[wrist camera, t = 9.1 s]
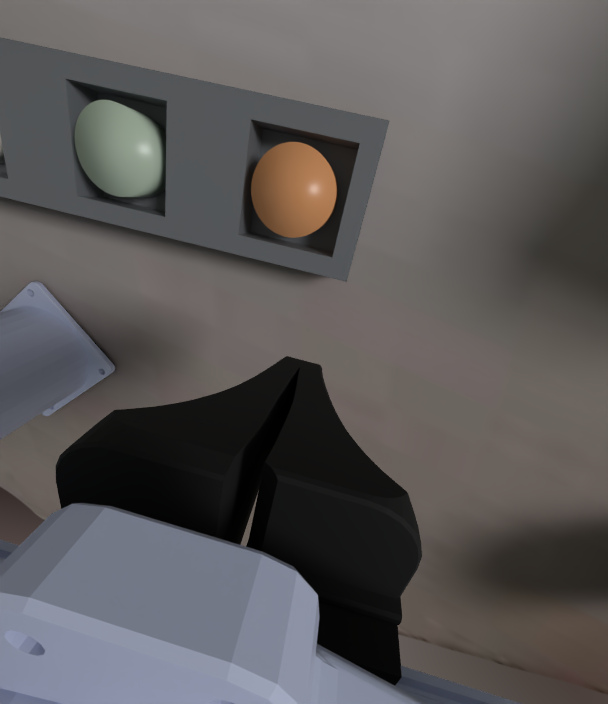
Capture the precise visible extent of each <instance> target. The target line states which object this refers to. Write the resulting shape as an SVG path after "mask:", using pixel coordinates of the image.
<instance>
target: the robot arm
mask: <svg viewBox="0 0 608 704" xmlns="http://www.w3.org/2000/svg"><path fill="white" fill-rule="evenodd" d="M32 291H33V292H32ZM103 370H104V371H105V372H104V371H103ZM114 371H115V366H114V364H113V363H112V362H111V361H110V360H109V359H108V358H107V356H106V355H105V354H104V353H103V352H102V351H101V350H100V349H99V347H98V346H97V345H96V344H95V343H94V342H93V341H92V339H91V338H90V337H89V336H88V335H87V334H86V333H85V332H84V330H83V329H82V328H81V327H80V326H79V325H78V324H77V323H76V321H75V320H74V319H73V318H72V317H71V316H70V315H69V314H68V312H67V311H66V310H65V309H64V308H63V307H62V306H61V305H60V303H59V302H58V301H57V300H56V299H55V298H54V297H53V295H52V294H51V293H50V292H49V291H48V290H47V289H46V288H45V286H44V285H43V284H42V283H40V282H38V281H34V282H30V283H29V284H28V285H27V286H26V287H25V288H24V289H23V290H22V291H21V292H20V293H19V294H18V295H17V296H16V297H15V298H14V299H13V300H12V301H11V302H10V303H9V304H8V305H7V306H5V307H4V308H3V309H2V310H1V311H0V440H1V439H2V438H4V437H5V436H7V435H9V434H10V433H12V432H13V431H15V430H16V429H18V428H19V427H21V426H22V425H24V424H26V423H27V422H29V421H30V420H32V419H33V418H35V417H36V416H38V415H39V414H42V415H44V416H49V415H51V414H52V413H54V412H55V411H57V410H58V409H60V408H61V407H63V406H64V405H65V404H67V403H68V402H70V401H71V400H73V399H74V398H76V397H77V396H79V395H80V394H82V393H83V392H85V391H86V390H88V389H89V388H91V387H92V386H93V385H95V384H96V383H98V382H99V381H101V380H102V379H104V378H105V377H107V376H108V375H110V374H111V373H113V372H114ZM56 483H57V488H58V494H59V499H60V504H61V509H60V510H58V511H56V512H54V513H52V514H51V515H50V516H49V517H48V518H47V519H46V520H45V521H44V522H43V523H42V524H41V525H40V526H39V527H38V528H37V529H36V530H35V531H34V532H33V533H32V534H31V535H30V536H29V537H28V538H27V539H26V540H25V541H24V542H23V543H22V544H21V545H20V546H19V545H16V544H13V543H10V542H6V541H3V540H0V704H522V703H518V702H515V701H512V700H509V699H506V698H503V697H499V696H496V695H493V694H490V693H487V692H484V691H480V690H477V689H474V688H471V687H468V686H465V685H461V684H458V683H455V682H451V681H449V680H445V679H442V678H439V677H436V676H433V675H430V674H426V673H423V672H420V671H417V670H414V669H410V668H407V667H404V666H401V663H400V652H399V639H398V627H397V625H399V624H400V623H401V620H402V610H401V600H400V596H401V595H402V593H403V591H404V590H405V588H406V586H407V585H408V583H409V582H410V580H411V578H412V577H413V575H414V573H415V572H416V570H417V568H418V566H419V563H420V560H421V558H422V551H421V540H420V535H419V529H418V525H417V521H416V518H415V514H414V511H413V508H412V505H411V502H410V498H409V495H408V493H407V492H406V491H405V490H404V489H403V488H402V487H401V486H399V485H398V484H397V483H396V482H395V481H393V480H392V479H391V478H390V477H389V476H388V475H386V474H385V473H384V472H383V471H382V470H381V469H380V468H379V467H378V466H377V465H376V464H375V463H374V462H373V461H372V460H371V459H370V458H369V457H368V456H367V455H366V454H365V453H364V452H363V451H362V450H361V448H360V447H359V446H358V445H357V443H356V442H355V441H354V440H353V438H352V437H351V436H350V435H349V433H348V432H347V430H346V429H345V427H344V426H343V424H342V422H341V421H340V419H339V417H338V415H337V413H336V411H335V409H334V407H333V405H332V402H331V400H330V398H329V395H328V392H327V389H326V386H325V383H324V379H323V374H322V368H321V366H320V365H318V364H315V363H311V362H307V361H303V360H299V359H295V358H292V357H288V356H287V357H285V358H283V359H281V360H280V361H279V362H277V363H276V364H274V365H273V366H271V367H270V368H268V369H267V370H265V371H263V372H262V373H260V374H258V375H257V376H255V377H253V378H251V379H249V380H247V381H245V382H243V383H242V384H239V385H237V386H235V387H232V388H230V389H227V390H224V391H222V392H219V393H216V394H212V395H209V396H205V397H202V398H198V399H194V400H190V401H186V402H181V403H175V404H169V405H163V406H156V407H146V408H135V409H124V410H114V411H113V412H111V413H110V414H109V415H107V416H106V417H105V418H104V419H102V420H101V421H100V422H98V423H97V424H96V425H95V426H94V427H92V428H91V429H90V430H89V431H88V432H86V433H85V434H84V435H83V436H82V437H80V438H79V439H78V440H77V441H76V442H75V443H73V444H72V445H71V446H70V447H69V448H68V449H66V450H65V451H64V452H63V453H62V454H61V455H60V457H59V459H58V462H57V464H56ZM258 490H259V492H258ZM257 493H258V497H257V502H256V507H255V512H254V517H253V522H252V527H251V531H250V536H249V540H248V543H247V546H246V547H245V546H242V545H240V544H241V541H242V538H243V535H244V532H245V529H246V526H247V523H248V520H249V517H250V514H251V511H252V508H253V505H254V502H255V499H256V496H257Z"/></svg>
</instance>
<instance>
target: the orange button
mask: <svg viewBox="0 0 608 704" xmlns="http://www.w3.org/2000/svg"><path fill="white" fill-rule="evenodd" d="M251 196H252V202H253V205H254V208H255V210H256V213H257V215H258V216H259V218H260V219H261V221H262V222H263V223H264V224H265V225H266V227H268V228H269V229H270V230H271V231H273V232H275V233H276V234H279V235H281V236H284V237H290V238H297V237H303V236H306V235H309V234H311V233H313V232H314V231H316V230H318V229H320V228H321V227H322V226H324V225H325V224H326V223H327V222H328V220H329V219H330V218H331V216H332V214H333V212H334V210H335V208H336V204H337V200H338V184H337V179H336V176H335V173H334V171H333V169H332V167H331V166H330V164H329V163H328V162H327V160H326V159H325V158H324V157H323V156H322V154H321V153H319V152H318V151H317V150H316V149H314V148H313V147H311V146H309V145H307V144H304V143H300V142H286V143H282V144H279V145H277V146H275V147H273V148H272V149H270V150H269V151H268V152H266V153H265V154H264V155H263V157H262V158H261V159H260V161H259V162H258V164H257V166H256V168H255V171H254V174H253V177H252V183H251Z"/></svg>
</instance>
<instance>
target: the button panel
mask: <svg viewBox="0 0 608 704" xmlns="http://www.w3.org/2000/svg"><path fill="white" fill-rule="evenodd" d="M97 100H111V101H114V102H117V103H119V104H122V105H124V106H126V107H129V108H131V109H134V110H136V111H138V112H141V113H143V114H145V115H147V116H149V117H150V118H152V119H153V120H154V121H155V122H157V124H158V125H159V126H160V127H161V128H162V129H163V131H164V132H165V134H166V189H165V190H164V191H163V192H161V193H160V194H158V195H157V196H154V197H149V198H141V197H119V196H114V195H111V194H108V193H106V192H105V191H103V190H101V189H100V188H99V187H98V186H96V185H95V184H94V183H93V182H92V181H91V179H90V178H89V177H88V176H87V174H86V173H85V171H84V169H83V167H82V165H81V163H80V161H79V158H78V155H77V152H76V147H75V127H76V122H77V119H78V117H79V115H80V113H81V112H82V110H83V109H84V108H85V107H86V106H87V105H89V104H90V103H92V102H94V101H97ZM388 124H389V121H388V120H384V119H379V118H374V117H370V116H365V115H360V114H356V113H351V112H346V111H342V110H337V109H332V108H328V107H323V106H318V105H313V104H309V103H304V102H299V101H295V100H290V99H285V98H281V97H276V96H271V95H267V94H262V93H257V92H253V91H248V90H243V89H239V88H234V87H229V86H225V85H220V84H215V83H211V82H206V81H201V80H197V79H192V78H187V77H183V76H178V75H173V74H169V73H164V72H159V71H155V70H150V69H145V68H141V67H136V66H131V65H126V64H122V63H117V62H112V61H108V60H103V59H98V58H94V57H89V56H84V55H80V54H75V53H70V52H66V51H61V50H56V49H52V48H47V47H42V46H38V45H33V44H28V43H24V42H19V41H14V40H10V39H5V38H0V136H1V141H2V147H3V152H4V158H5V163H0V197H4V198H8V199H12V200H17V201H21V202H25V203H29V204H33V205H37V206H41V207H45V208H49V209H53V210H57V211H61V212H65V213H69V214H73V215H78V216H82V217H86V218H90V219H94V220H98V221H102V222H106V223H110V224H114V225H118V226H122V227H126V228H130V229H135V230H139V231H143V232H147V233H151V234H155V235H159V236H163V237H167V238H171V239H175V240H179V241H183V242H187V243H192V244H196V245H200V246H204V247H208V248H212V249H216V250H220V251H224V252H228V253H232V254H236V255H240V256H244V257H248V258H253V259H257V260H261V261H265V262H269V263H273V264H277V265H281V266H285V267H289V268H293V269H297V270H301V271H305V272H310V273H314V274H318V275H322V276H326V277H330V278H334V279H338V280H342V281H347V278H348V274H349V270H350V266H351V263H352V259H353V255H354V251H355V248H356V244H357V240H358V236H359V233H360V229H361V225H362V222H363V218H364V214H365V210H366V207H367V203H368V199H369V195H370V192H371V188H372V184H373V180H374V177H375V173H376V169H377V165H378V162H379V158H380V154H381V150H382V147H383V143H384V139H385V136H386V132H387V128H388ZM286 142H300V143H304V144H307V145H309V146H311V147H313V148H314V149H316V150H317V151H318V152H319V153H321V154H322V156H323V157H324V158H325V159H326V160H327V162H328V163H329V164H330V166H331V167H332V169H333V171H334V173H335V176H336V179H337V184H338V200H337V204H336V208H335V210H334V212H333V214H332V216H331V218H330V219H329V220H328V222H327V223H326V224H325V225H324V226H322V227H321V228H320V229H318V230H316V231H314V232H313V233H311V234H309V235H306V236H303V237H297V238H290V237H284V236H281V235H279V234H276V233H275V232H273V231H271V230H270V229H269V228H268V227H266V225H265V224H264V223H263V222H262V221H261V219H260V218H259V216H258V215H257V213H256V210H255V208H254V205H253V202H252V196H251V183H252V177H253V174H254V171H255V168H256V166H257V164H258V162H259V161H260V159H261V158H262V157H263V155H264V154H265V153H266V152H268V151H269V150H270V149H272V148H273V147H275V146H277V145H279V144H282V143H286Z"/></svg>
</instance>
